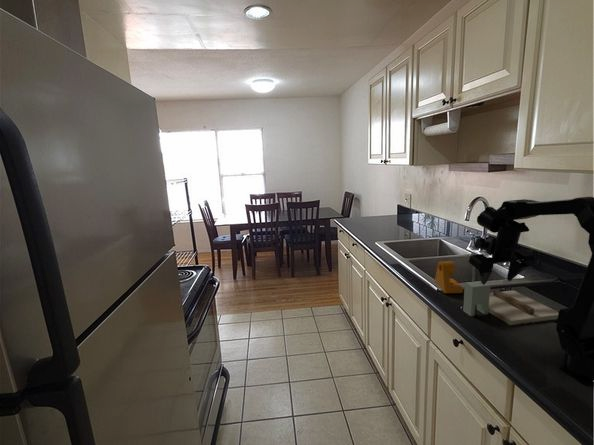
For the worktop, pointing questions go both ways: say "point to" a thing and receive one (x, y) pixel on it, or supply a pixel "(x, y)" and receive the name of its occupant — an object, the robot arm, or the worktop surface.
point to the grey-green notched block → (476, 297)
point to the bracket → (447, 277)
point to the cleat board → (518, 308)
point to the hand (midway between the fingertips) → (495, 282)
